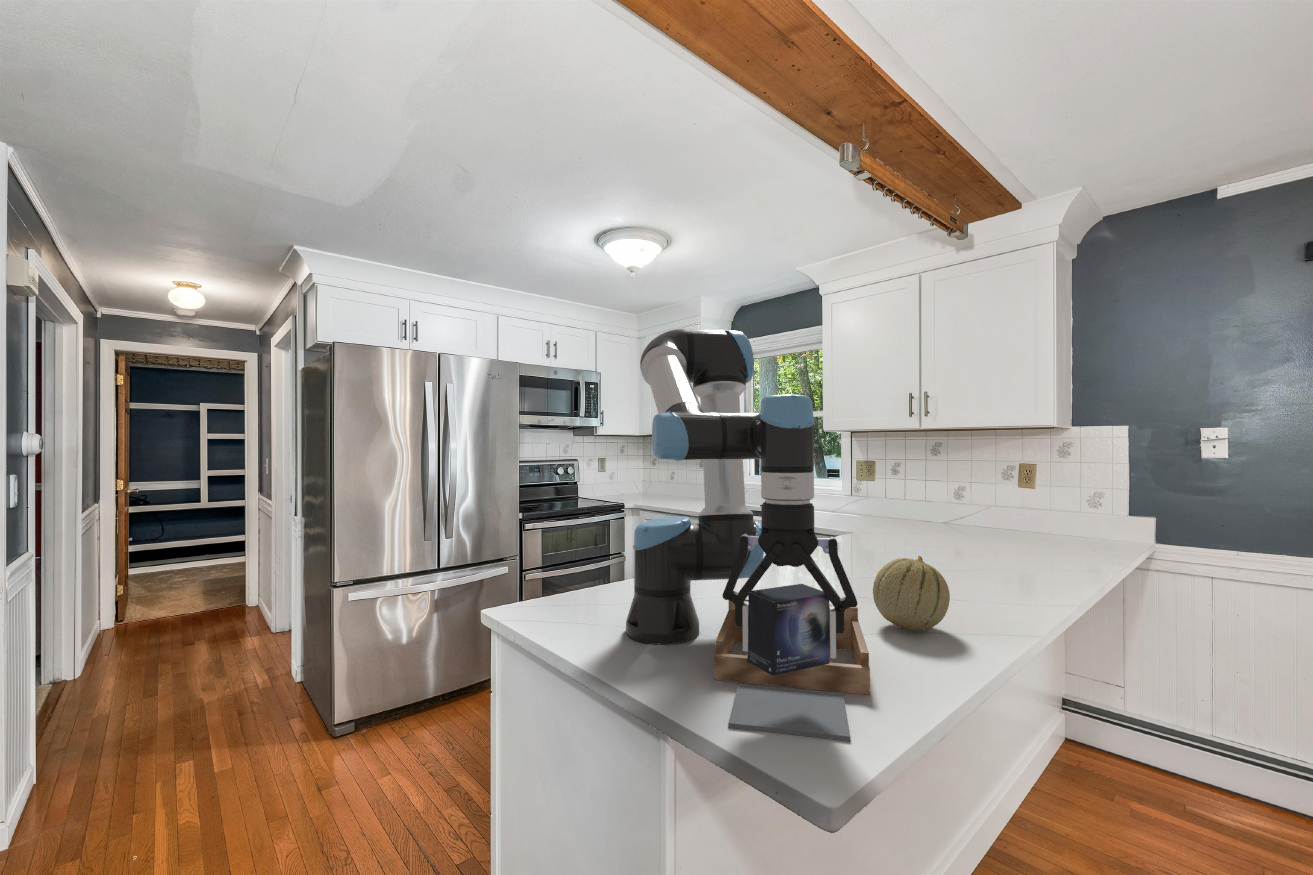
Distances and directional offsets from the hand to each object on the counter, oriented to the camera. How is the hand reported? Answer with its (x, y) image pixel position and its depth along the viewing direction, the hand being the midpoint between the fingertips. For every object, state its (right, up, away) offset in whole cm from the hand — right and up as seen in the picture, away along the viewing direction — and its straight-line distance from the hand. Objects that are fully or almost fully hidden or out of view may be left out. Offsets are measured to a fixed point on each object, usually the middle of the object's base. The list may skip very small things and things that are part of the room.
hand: (788, 651), depth 84 cm
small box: (0, -2, 0) cm, 2 cm away
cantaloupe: (+34, -9, +37) cm, 51 cm away
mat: (0, -9, 0) cm, 9 cm away
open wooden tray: (+5, -9, +19) cm, 21 cm away
